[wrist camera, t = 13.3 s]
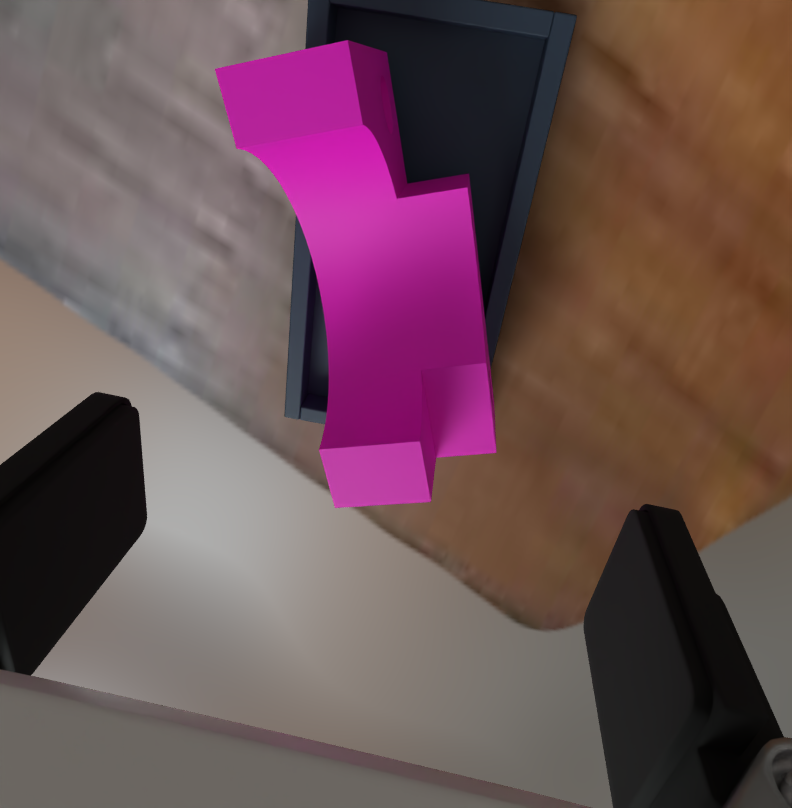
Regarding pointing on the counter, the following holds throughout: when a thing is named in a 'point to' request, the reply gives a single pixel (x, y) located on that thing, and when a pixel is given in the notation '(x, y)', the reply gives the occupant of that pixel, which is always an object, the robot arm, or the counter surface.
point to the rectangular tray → (445, 137)
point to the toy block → (374, 269)
